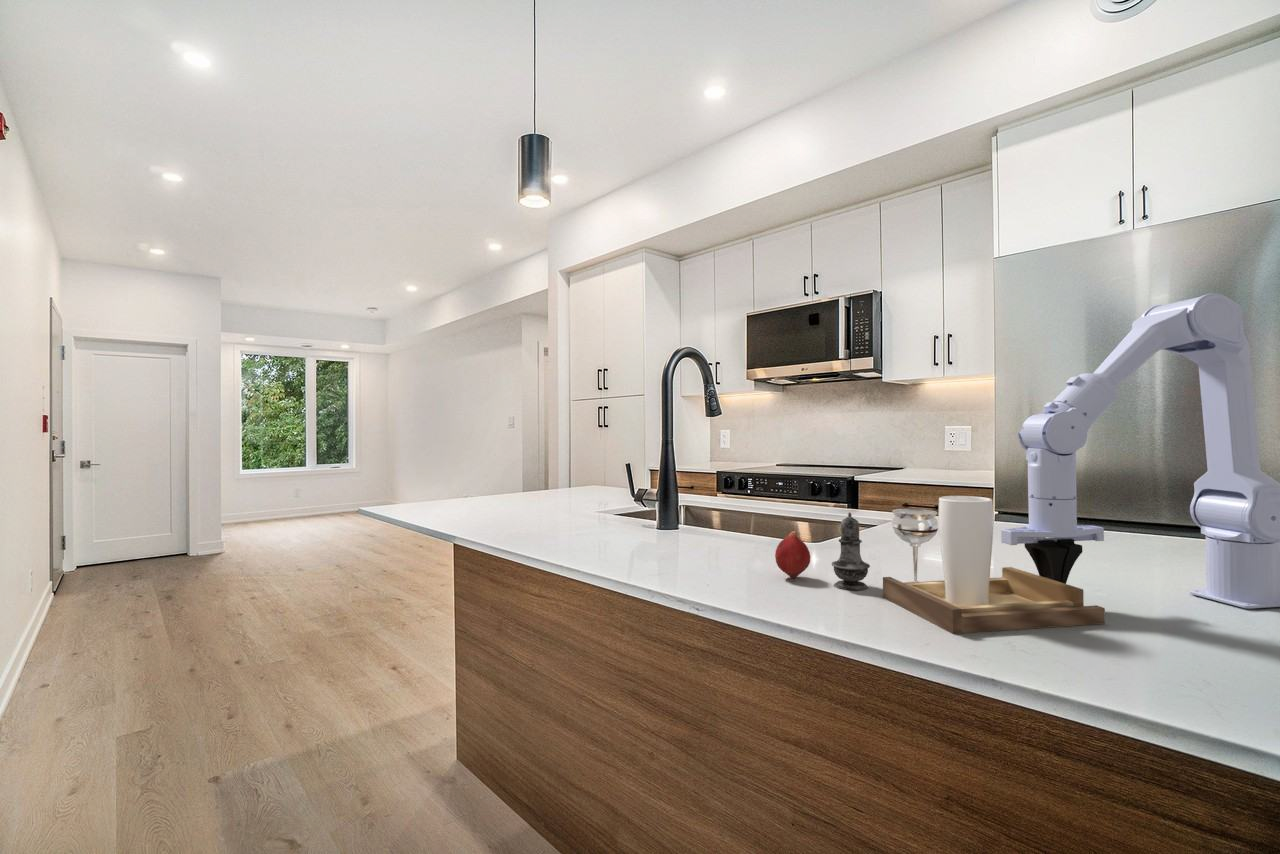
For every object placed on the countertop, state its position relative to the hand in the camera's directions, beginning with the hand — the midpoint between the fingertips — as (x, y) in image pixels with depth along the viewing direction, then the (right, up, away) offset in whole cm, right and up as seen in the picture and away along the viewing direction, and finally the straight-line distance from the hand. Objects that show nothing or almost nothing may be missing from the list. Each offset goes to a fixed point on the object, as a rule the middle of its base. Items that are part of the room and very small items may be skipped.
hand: (1053, 593), depth 88 cm
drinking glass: (-13, -2, -2) cm, 13 cm away
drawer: (-10, -2, -1) cm, 10 cm away
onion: (-33, -2, +18) cm, 37 cm away
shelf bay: (-10, -2, -1) cm, 10 cm away
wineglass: (-15, -2, +11) cm, 18 cm away
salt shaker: (-25, -2, +12) cm, 28 cm away
